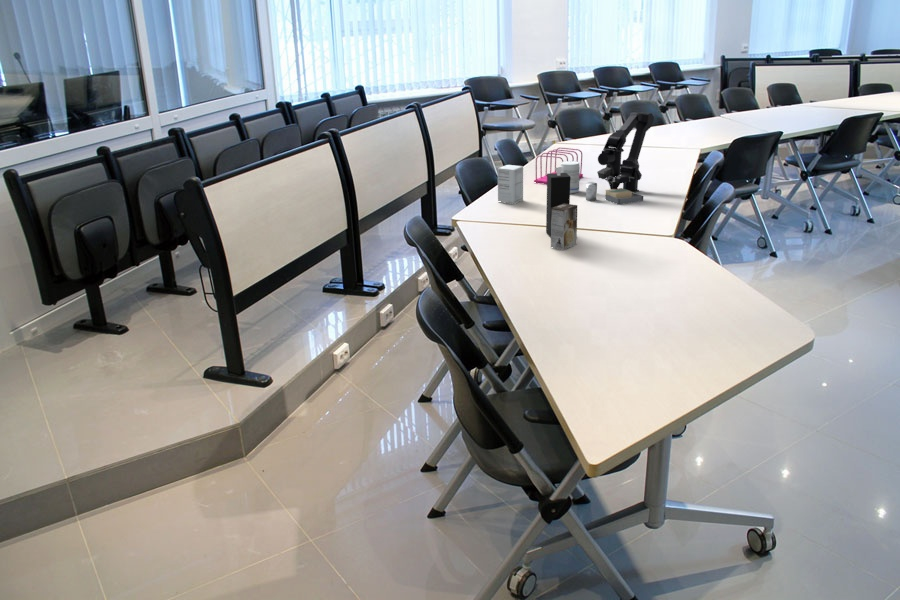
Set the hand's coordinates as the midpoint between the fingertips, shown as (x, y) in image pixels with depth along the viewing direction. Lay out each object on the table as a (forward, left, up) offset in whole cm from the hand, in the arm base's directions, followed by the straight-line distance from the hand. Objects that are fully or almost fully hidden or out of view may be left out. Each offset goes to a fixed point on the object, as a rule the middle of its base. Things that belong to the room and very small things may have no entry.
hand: (613, 193), depth 355 cm
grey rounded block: (+13, +1, -1) cm, 13 cm away
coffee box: (+63, +59, -2) cm, 86 cm away
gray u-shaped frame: (0, +9, -1) cm, 9 cm away
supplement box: (+48, -16, -2) cm, 51 cm away
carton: (+1, +6, -2) cm, 7 cm away
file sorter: (+4, -46, -2) cm, 46 cm away
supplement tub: (+13, -19, -2) cm, 23 cm away
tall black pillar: (+57, +44, -2) cm, 72 cm away
